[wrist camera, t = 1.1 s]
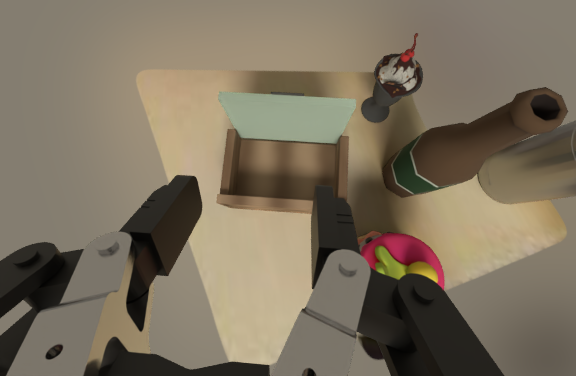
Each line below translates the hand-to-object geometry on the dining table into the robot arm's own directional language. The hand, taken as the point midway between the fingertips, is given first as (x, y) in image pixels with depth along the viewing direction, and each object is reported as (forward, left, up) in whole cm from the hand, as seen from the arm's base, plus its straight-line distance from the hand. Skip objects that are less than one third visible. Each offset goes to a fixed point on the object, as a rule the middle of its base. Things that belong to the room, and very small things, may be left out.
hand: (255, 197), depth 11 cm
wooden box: (0, -7, -30) cm, 31 cm away
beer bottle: (-20, -9, -30) cm, 37 cm away
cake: (-15, +6, -30) cm, 34 cm away
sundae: (-15, -21, -30) cm, 40 cm away
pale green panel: (0, -14, -27) cm, 30 cm away
